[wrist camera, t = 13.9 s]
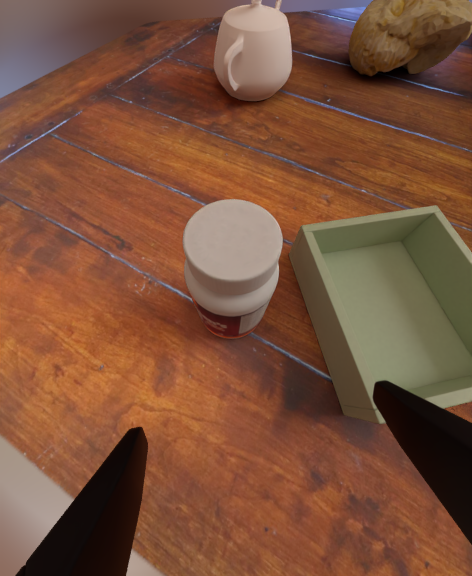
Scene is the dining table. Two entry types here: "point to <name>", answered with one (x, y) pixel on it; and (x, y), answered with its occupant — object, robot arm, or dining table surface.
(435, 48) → the seashell
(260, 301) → the pill bottle
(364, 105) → the dining table surface
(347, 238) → the open box
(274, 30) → the teapot
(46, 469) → the dining table surface
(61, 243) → the dining table surface
